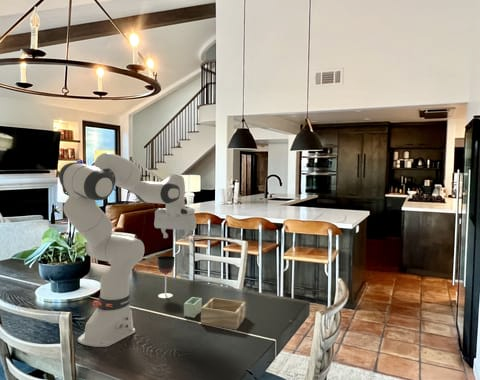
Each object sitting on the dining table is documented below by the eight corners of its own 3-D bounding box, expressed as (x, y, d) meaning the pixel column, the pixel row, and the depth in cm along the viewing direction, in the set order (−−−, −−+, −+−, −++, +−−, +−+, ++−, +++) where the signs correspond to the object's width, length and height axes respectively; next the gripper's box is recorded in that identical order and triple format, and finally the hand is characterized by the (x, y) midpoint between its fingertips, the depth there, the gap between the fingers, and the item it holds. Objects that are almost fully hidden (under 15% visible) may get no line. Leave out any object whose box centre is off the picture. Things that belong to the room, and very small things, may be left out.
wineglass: (172, 298, 191) (172, 259, 190) (155, 297, 191) (155, 259, 190) (175, 293, 199) (175, 256, 197) (159, 292, 199) (159, 255, 198)
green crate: (194, 317, 167) (194, 304, 167) (183, 316, 168) (184, 303, 168) (201, 310, 176) (202, 298, 175) (191, 309, 177) (192, 296, 177)
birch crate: (236, 329, 156) (236, 313, 155) (200, 324, 160) (201, 308, 160) (245, 317, 169) (245, 301, 169) (212, 312, 173) (212, 297, 173)
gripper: (151, 208, 174) (151, 238, 175) (192, 211, 168) (192, 241, 169) (158, 207, 180) (158, 235, 181) (197, 209, 174) (197, 238, 175)
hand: (174, 238), depth 175 cm, fingers open, 8 cm apart
